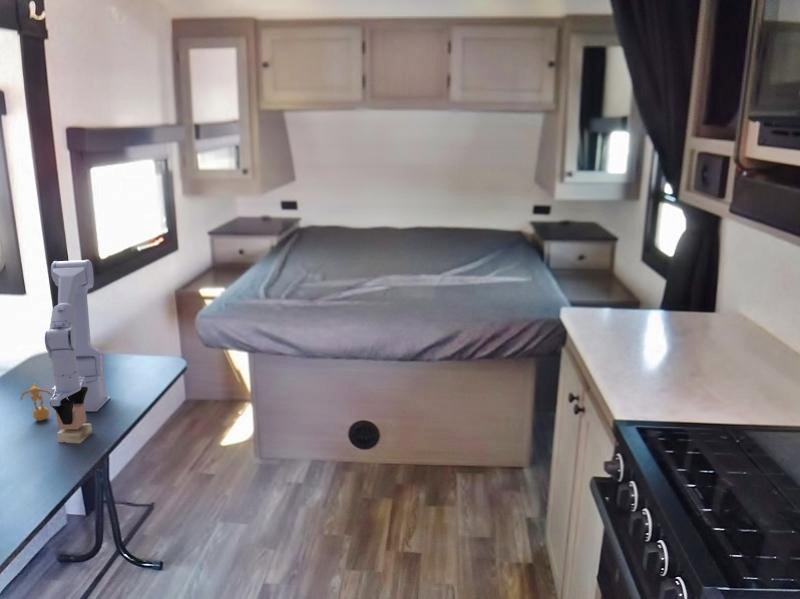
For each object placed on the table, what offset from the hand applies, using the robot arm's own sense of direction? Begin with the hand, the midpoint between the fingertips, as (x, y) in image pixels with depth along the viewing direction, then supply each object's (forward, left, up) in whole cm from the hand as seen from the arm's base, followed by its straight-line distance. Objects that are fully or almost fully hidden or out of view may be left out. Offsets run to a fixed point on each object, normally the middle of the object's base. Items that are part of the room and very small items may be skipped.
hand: (72, 419), depth 169 cm
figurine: (-9, -14, -6) cm, 18 cm away
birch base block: (0, 0, -6) cm, 6 cm away
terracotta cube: (0, 0, -2) cm, 2 cm away
